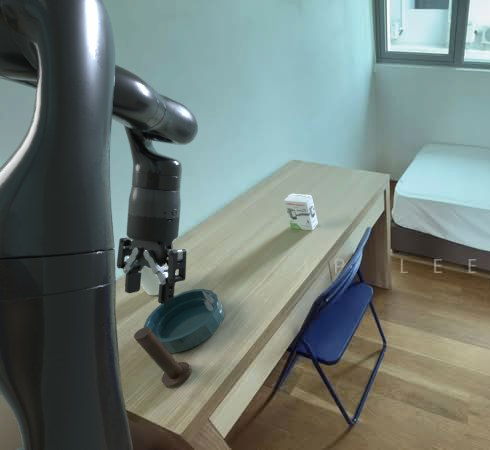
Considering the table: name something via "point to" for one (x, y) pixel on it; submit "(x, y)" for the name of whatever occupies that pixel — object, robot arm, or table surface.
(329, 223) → the table surface
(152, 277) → the can
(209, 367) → the table surface
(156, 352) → the brown post with base
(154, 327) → the bowl
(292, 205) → the ink box
